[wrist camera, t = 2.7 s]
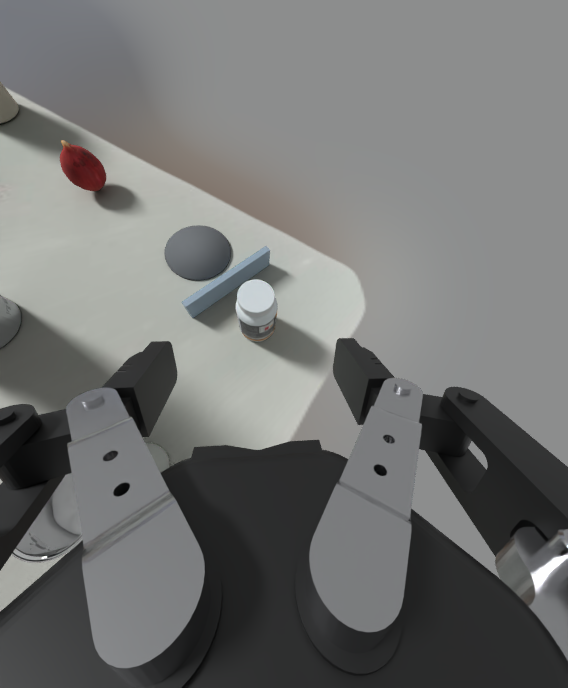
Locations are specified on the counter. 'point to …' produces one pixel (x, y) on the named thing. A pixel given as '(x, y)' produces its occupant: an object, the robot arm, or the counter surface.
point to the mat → (197, 252)
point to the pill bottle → (256, 310)
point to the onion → (82, 167)
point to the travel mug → (7, 105)
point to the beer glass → (64, 520)
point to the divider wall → (227, 282)
